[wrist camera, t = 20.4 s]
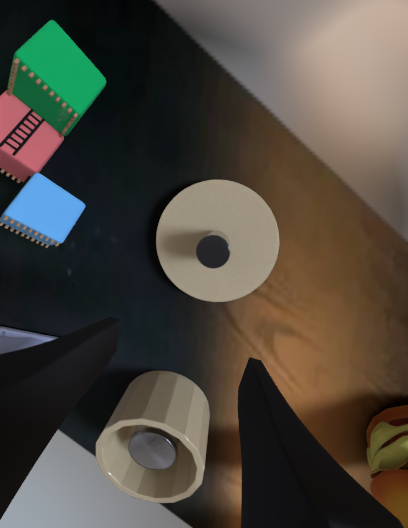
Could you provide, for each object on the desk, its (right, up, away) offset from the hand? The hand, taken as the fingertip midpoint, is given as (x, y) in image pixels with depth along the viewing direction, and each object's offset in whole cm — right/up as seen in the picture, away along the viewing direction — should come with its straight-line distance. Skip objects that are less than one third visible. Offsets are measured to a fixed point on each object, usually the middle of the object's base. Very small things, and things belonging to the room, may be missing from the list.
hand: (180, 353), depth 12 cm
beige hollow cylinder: (-3, -12, +14) cm, 19 cm away
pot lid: (+2, +7, +8) cm, 11 cm away
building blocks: (-10, +14, +9) cm, 19 cm away
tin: (-3, -13, +14) cm, 19 cm away
